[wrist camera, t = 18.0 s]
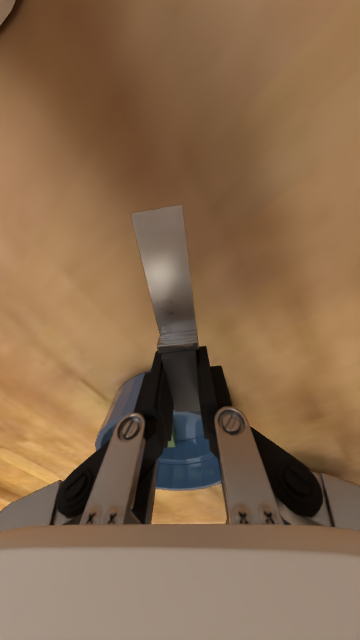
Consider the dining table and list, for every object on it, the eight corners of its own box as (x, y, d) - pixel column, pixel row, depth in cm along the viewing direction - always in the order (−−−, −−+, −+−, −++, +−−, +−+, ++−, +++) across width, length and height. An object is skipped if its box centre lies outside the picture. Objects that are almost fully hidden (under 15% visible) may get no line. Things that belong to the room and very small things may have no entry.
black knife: (203, 387, 12) (206, 410, 10) (173, 389, 12) (172, 412, 10) (182, 205, 7) (181, 195, 5) (131, 214, 7) (115, 208, 5)
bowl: (98, 371, 21) (69, 415, 16) (231, 359, 20) (248, 404, 14) (134, 444, 29) (121, 491, 23) (232, 440, 27) (244, 490, 22)
